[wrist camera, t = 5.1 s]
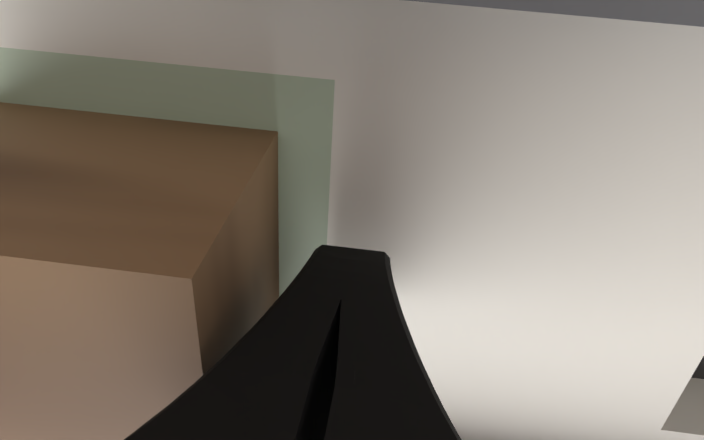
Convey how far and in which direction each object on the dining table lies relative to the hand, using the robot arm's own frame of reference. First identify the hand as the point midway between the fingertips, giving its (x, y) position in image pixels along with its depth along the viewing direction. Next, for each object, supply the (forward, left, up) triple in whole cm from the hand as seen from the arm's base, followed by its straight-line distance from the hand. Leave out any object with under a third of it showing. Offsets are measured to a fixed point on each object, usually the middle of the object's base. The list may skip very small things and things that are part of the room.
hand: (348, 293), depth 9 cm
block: (0, +4, -1) cm, 4 cm away
